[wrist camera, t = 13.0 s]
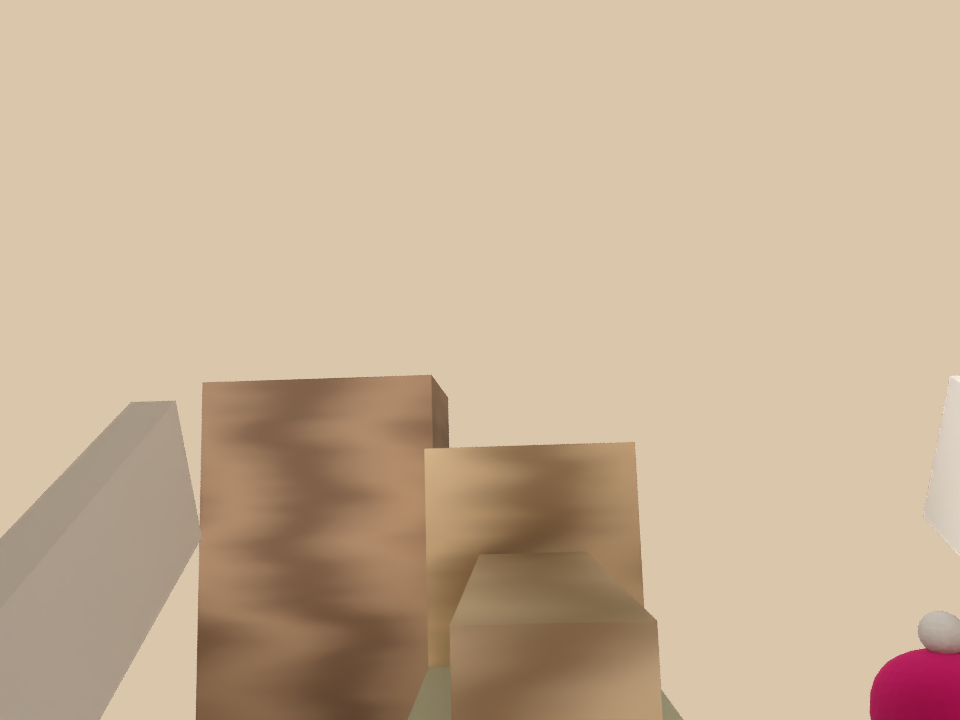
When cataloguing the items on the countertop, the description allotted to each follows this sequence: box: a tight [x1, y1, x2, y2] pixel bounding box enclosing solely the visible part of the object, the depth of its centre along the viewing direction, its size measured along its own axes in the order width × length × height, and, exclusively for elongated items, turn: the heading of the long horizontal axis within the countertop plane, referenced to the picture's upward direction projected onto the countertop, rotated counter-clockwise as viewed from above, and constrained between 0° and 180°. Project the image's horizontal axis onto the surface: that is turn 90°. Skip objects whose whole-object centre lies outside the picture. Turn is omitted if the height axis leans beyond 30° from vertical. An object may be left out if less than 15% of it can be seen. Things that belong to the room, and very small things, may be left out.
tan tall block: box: [424, 442, 663, 720], centre depth 22 cm, size 7×18×7 cm, turn 178°
